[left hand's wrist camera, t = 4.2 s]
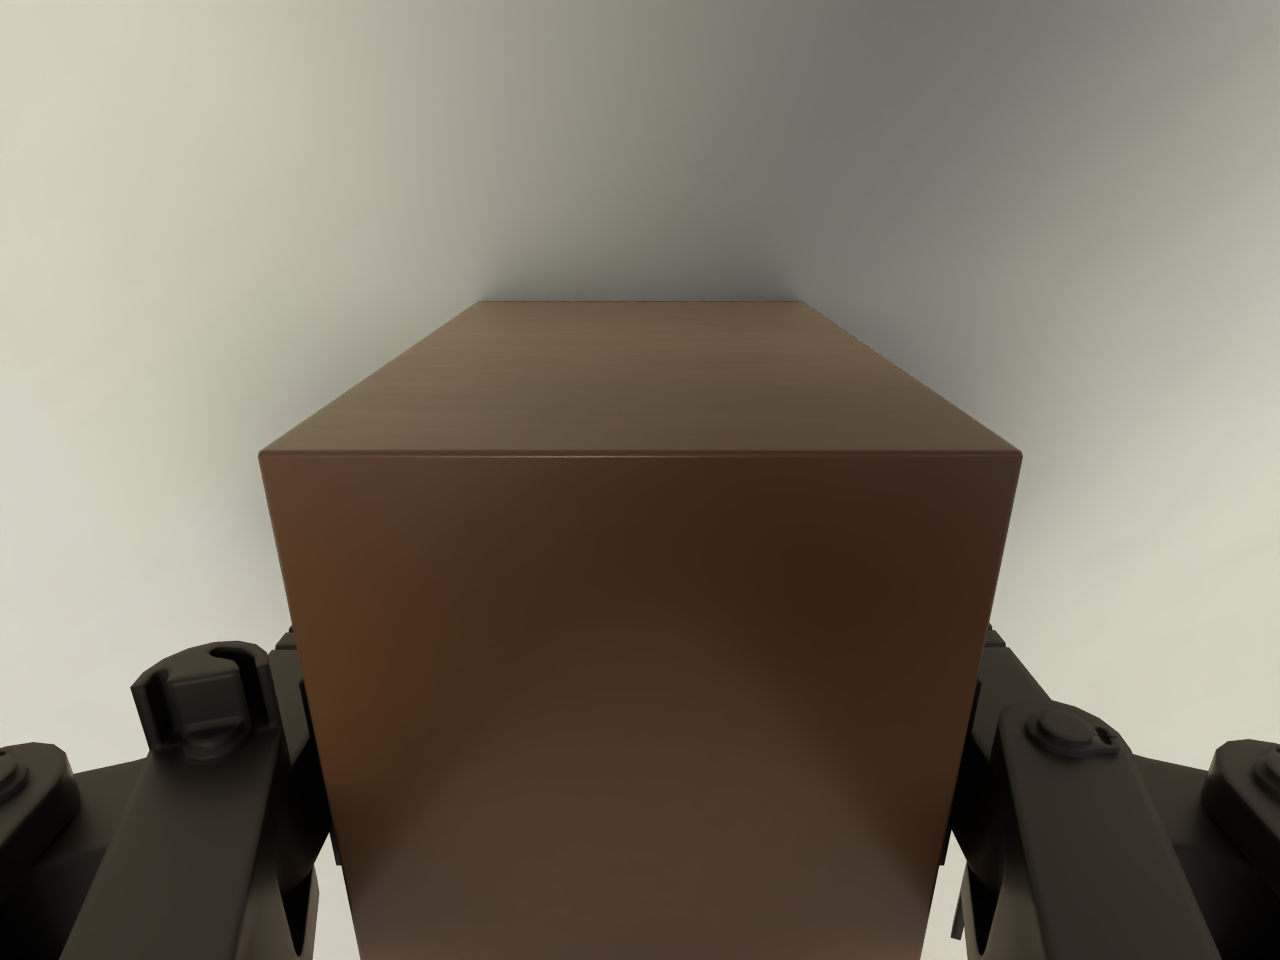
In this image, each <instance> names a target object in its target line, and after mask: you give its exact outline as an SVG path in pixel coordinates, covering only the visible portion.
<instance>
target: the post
mask: <svg viewBox="0 0 1280 960" xmlns="http://www.w3.org/2000/svg"><path fill="white" fill-rule="evenodd" d="M1022 458H1023V456H1022V452H1021V451H1020V450H1019V449H1017V448H1016V447H1014V446H1013V445H1011V444H1010V443H1008V442H1007V441H1006V440H1004V439H1003V438H1001V437H1000V436H998V435H997V434H995V433H994V432H992V431H991V430H989V429H988V428H987V427H985V426H984V425H982V424H981V423H979V422H978V421H976V420H975V419H973V418H972V417H970V416H969V415H967V414H966V413H965V412H963V411H962V410H960V409H959V408H957V407H956V406H954V405H953V404H951V403H950V402H948V401H947V400H946V399H944V398H943V397H941V396H940V395H938V394H937V393H935V392H934V391H932V390H931V389H929V388H928V387H927V386H925V385H924V384H922V383H921V382H919V381H918V380H916V379H915V378H913V377H912V376H910V375H909V374H907V373H906V372H905V371H903V370H902V369H900V368H899V367H897V366H896V365H894V364H893V363H891V362H890V361H888V360H887V359H886V358H884V357H883V356H881V355H880V354H878V353H877V352H875V351H874V350H872V349H871V348H869V347H868V346H867V345H865V344H864V343H862V342H861V341H859V340H858V339H856V338H855V337H853V336H852V335H850V334H849V333H847V332H846V331H845V330H843V329H842V328H840V327H839V326H837V325H836V324H834V323H833V322H831V321H830V320H828V319H827V318H826V317H824V316H823V315H821V314H820V313H818V312H817V311H815V310H814V309H812V308H811V307H809V306H808V305H806V304H805V303H803V302H477V303H475V304H474V305H472V306H471V307H470V308H468V309H467V310H465V311H464V312H462V313H461V314H459V315H458V316H456V317H455V318H453V319H452V320H451V321H449V322H448V323H446V324H445V325H443V326H442V327H440V328H439V329H437V330H436V331H434V332H433V333H432V334H430V335H429V336H427V337H426V338H424V339H423V340H421V341H420V342H418V343H417V344H415V345H414V346H413V347H411V348H410V349H408V350H407V351H405V352H404V353H402V354H401V355H399V356H398V357H396V358H395V359H394V360H392V361H391V362H389V363H388V364H386V365H385V366H383V367H382V368H380V369H379V370H378V371H376V372H375V373H373V374H372V375H370V376H369V377H367V378H366V379H364V380H363V381H361V382H360V383H359V384H357V385H356V386H354V387H353V388H351V389H350V390H348V391H347V392H345V393H344V394H342V395H341V396H340V397H338V398H337V399H335V400H334V401H332V402H331V403H329V404H328V405H326V406H325V407H323V408H322V409H321V410H319V411H318V412H316V413H315V414H313V415H312V416H310V417H309V418H307V419H306V420H304V421H303V422H302V423H300V424H299V425H297V426H296V427H294V428H293V429H291V430H290V431H288V432H287V433H286V434H284V435H283V436H281V437H280V438H278V439H277V440H275V441H274V442H272V443H271V444H269V445H268V446H267V447H265V448H264V449H262V450H261V451H259V455H258V459H259V464H260V468H261V473H262V478H263V483H264V488H265V493H266V498H267V503H268V508H269V513H270V518H271V522H272V527H273V532H274V537H275V542H276V547H277V552H278V557H279V562H280V567H281V572H282V576H283V581H284V586H285V591H286V596H287V601H288V606H289V611H290V616H291V621H292V626H293V630H294V635H295V640H296V645H297V650H298V655H299V660H300V665H301V670H302V675H303V679H304V684H305V689H306V694H307V699H308V704H309V709H310V714H311V719H312V724H313V729H314V733H315V738H316V743H317V748H318V753H319V758H320V763H321V768H322V773H323V778H324V783H325V787H326V792H327V797H328V802H329V807H330V812H331V817H332V822H333V827H334V832H335V836H336V841H337V846H338V851H339V856H340V861H341V866H342V871H343V876H344V881H345V886H346V890H347V895H348V900H349V905H350V910H351V915H352V920H353V925H354V930H355V935H356V940H357V944H358V949H359V954H360V959H361V960H920V957H921V953H922V948H923V943H924V938H925V933H926V928H927V923H928V918H929V913H930V908H931V904H932V899H933V894H934V889H935V884H936V879H937V874H938V869H939V864H940V860H941V855H942V850H943V845H944V840H945V835H946V830H947V825H948V820H949V815H950V811H951V806H952V801H953V796H954V791H955V786H956V781H957V776H958V771H959V767H960V762H961V757H962V752H963V747H964V742H965V737H966V732H967V727H968V722H969V718H970V713H971V708H972V703H973V698H974V693H975V688H976V683H977V678H978V674H979V669H980V664H981V659H982V654H983V649H984V644H985V639H986V634H987V630H988V625H989V620H990V615H991V610H992V605H993V600H994V595H995V590H996V585H997V581H998V576H999V571H1000V566H1001V561H1002V556H1003V551H1004V546H1005V541H1006V537H1007V532H1008V527H1009V522H1010V517H1011V512H1012V507H1013V502H1014V497H1015V492H1016V488H1017V483H1018V478H1019V473H1020V468H1021V463H1022Z"/></svg>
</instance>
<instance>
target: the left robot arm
mask: <svg viewBox="0 0 1280 960" xmlns="http://www.w3.org/2000/svg"><path fill="white" fill-rule="evenodd" d="M275 647H276V648H275V650H272V651H271V652H270V653H269V654H268V655H267V652H266V651H264V650H263V649H262V648H260V647H259V646H258V645H256V644H252V643H247V642H242V641H224V642H213V643H208V644H204V645H200V646H196V647H192V648H188V649H186V650H183V651H181V652H179V653H176V654H174V655H172V656H169V657H167V658H164V659H163V660H161V661H160V662H158V663H157V664H155V665H154V666H152V667H151V668H149V669H148V670H146V671H145V672H143V673H142V674H141V675H140V677H139V678H138V679H137V680H136V681H135V683H134V684H133V685H132V686H131V687H130V688H131V691H132V695H133V698H134V701H135V704H136V708H137V711H138V714H139V717H140V720H141V724H142V727H143V730H144V733H145V737H146V740H147V743H148V746H149V749H150V751H149V753H148V755H147V757H146V758H143V759H139V760H136V761H132V762H127V763H123V764H118V765H113V766H109V767H104V768H99V769H94V770H90V771H85V772H80V773H76V774H73V772H72V769H71V766H70V764H69V761H68V758H67V755H66V753H65V752H64V751H62V750H61V749H60V748H58V747H57V746H55V745H54V744H45V743H36V742H31V743H25V744H19V745H12V746H6V747H2V748H0V960H312V959H313V949H314V940H315V930H316V920H317V911H318V901H319V887H318V881H317V876H316V871H315V867H314V863H315V861H316V858H317V856H318V854H319V852H320V850H321V848H322V846H323V844H324V842H325V840H326V838H327V836H328V834H329V832H330V837H331V842H332V847H333V851H334V856H335V861H336V865H341V861H340V856H339V851H338V846H337V841H336V836H335V832H334V827H333V822H332V817H331V812H330V807H329V802H328V797H327V792H326V787H325V783H324V778H323V773H322V768H321V763H320V758H319V753H318V748H317V743H316V738H315V733H314V729H313V724H312V719H311V714H310V709H309V704H308V699H307V694H306V689H305V684H304V679H303V675H302V670H301V665H300V660H299V655H298V650H297V645H296V640H295V635H294V630H293V626H291V627H290V628H289V633H285V634H284V636H283V637H282V638H281V639H280V641H279V642H278V643H277V644H276V646H275ZM951 830H952V831H953V833H954V835H955V837H956V839H957V841H958V844H959V846H960V848H961V850H962V852H963V854H964V856H965V858H966V860H967V862H966V867H965V871H964V876H963V880H962V885H961V889H960V894H959V898H958V903H957V907H956V912H955V916H954V921H953V926H952V932H951V938H954V939H958V940H961V936H962V932H963V928H965V938H966V947H967V957H968V960H1280V744H1276V743H1270V742H1264V741H1257V740H1251V739H1246V740H1236V741H1228V742H1226V743H1225V744H1223V745H1222V746H1221V747H1219V748H1218V749H1216V752H1215V754H1214V757H1213V760H1212V763H1211V765H1210V768H1209V771H1205V770H1201V769H1196V768H1191V767H1187V766H1182V765H1177V764H1173V763H1168V762H1163V761H1158V760H1154V759H1149V758H1145V757H1142V756H1138V755H1134V754H1132V751H1131V749H1130V748H1129V746H1128V745H1127V744H1126V742H1125V741H1124V740H1123V738H1122V737H1121V735H1120V734H1119V733H1118V732H1117V731H1115V730H1114V729H1113V728H1112V727H1110V726H1109V725H1108V724H1106V723H1105V722H1104V721H1102V720H1101V719H1100V718H1098V717H1096V716H1094V715H1092V714H1090V713H1088V712H1086V711H1083V710H1081V709H1079V708H1077V707H1075V706H1071V705H1067V704H1064V703H1060V702H1057V701H1053V700H1051V699H1050V697H1049V696H1048V695H1047V694H1046V693H1045V691H1044V690H1043V689H1042V688H1041V686H1040V685H1039V684H1038V683H1037V681H1036V680H1035V679H1034V678H1033V676H1032V675H1031V674H1030V673H1029V671H1028V670H1027V669H1026V668H1025V667H1024V665H1023V664H1022V663H1021V662H1020V660H1019V659H1018V658H1017V657H1016V655H1015V654H1014V653H1013V652H1012V650H1011V649H1010V648H1009V647H1006V643H1005V642H1004V641H1003V639H1002V638H1001V637H1000V636H999V634H998V633H997V632H996V631H995V630H992V626H991V624H990V623H989V625H988V630H987V634H986V639H985V644H984V649H983V654H982V659H981V664H980V669H979V674H978V678H977V683H976V688H975V693H974V698H973V703H972V708H971V713H970V718H969V722H968V727H967V732H966V737H965V742H964V747H963V752H962V757H961V762H960V767H959V771H958V776H957V781H956V786H955V791H954V796H953V801H952V806H951V811H950V815H949V820H948V825H947V830H946V835H945V840H944V845H943V850H942V855H941V860H940V864H939V865H944V863H945V858H946V854H947V849H948V844H949V839H950V834H951Z"/></svg>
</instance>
